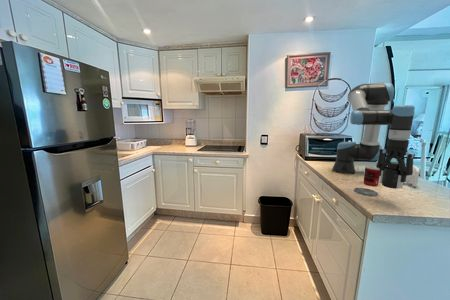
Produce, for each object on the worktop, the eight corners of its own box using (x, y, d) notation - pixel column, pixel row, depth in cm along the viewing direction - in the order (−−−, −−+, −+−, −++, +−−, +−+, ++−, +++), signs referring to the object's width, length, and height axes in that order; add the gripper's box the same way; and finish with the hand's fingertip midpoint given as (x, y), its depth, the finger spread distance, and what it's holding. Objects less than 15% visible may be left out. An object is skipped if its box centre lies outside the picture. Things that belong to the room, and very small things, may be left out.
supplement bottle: (377, 184, 96) (381, 161, 94) (390, 183, 97) (393, 160, 95) (390, 189, 90) (394, 164, 87) (403, 188, 90) (408, 164, 88)
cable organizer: (417, 189, 112) (420, 170, 110) (393, 185, 118) (396, 167, 116) (411, 182, 124) (414, 164, 122) (390, 179, 130) (393, 162, 128)
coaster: (349, 189, 111) (349, 188, 111) (363, 187, 114) (363, 186, 114) (367, 197, 100) (368, 196, 100) (383, 194, 103) (383, 193, 103)
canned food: (376, 183, 122) (378, 166, 120) (380, 187, 115) (382, 169, 113) (361, 181, 125) (364, 165, 123) (364, 185, 118) (367, 168, 116)
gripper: (371, 136, 97) (365, 179, 101) (419, 142, 78) (409, 194, 83) (381, 136, 99) (375, 178, 104) (431, 141, 81) (420, 192, 85)
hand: (390, 185), depth 93 cm, fingers closed on supplement bottle, 7 cm apart
